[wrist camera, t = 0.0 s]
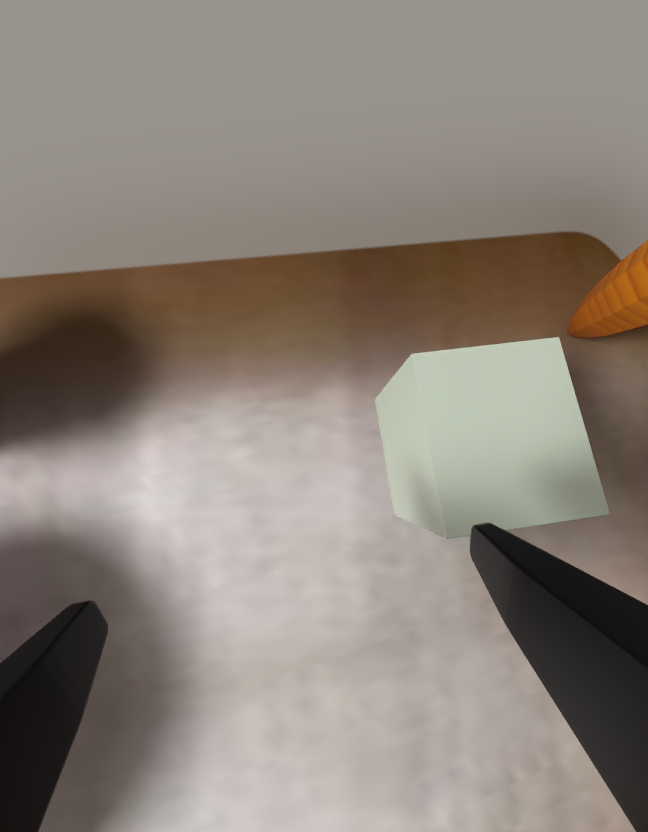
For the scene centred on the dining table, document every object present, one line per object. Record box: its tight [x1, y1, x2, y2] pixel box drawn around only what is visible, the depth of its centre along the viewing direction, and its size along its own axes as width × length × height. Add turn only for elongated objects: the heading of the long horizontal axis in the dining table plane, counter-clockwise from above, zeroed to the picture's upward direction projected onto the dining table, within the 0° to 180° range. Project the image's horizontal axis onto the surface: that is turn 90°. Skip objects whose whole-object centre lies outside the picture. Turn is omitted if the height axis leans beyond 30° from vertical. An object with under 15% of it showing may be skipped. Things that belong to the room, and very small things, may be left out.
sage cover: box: [375, 337, 610, 539], centre depth 19 cm, size 8×7×9 cm
